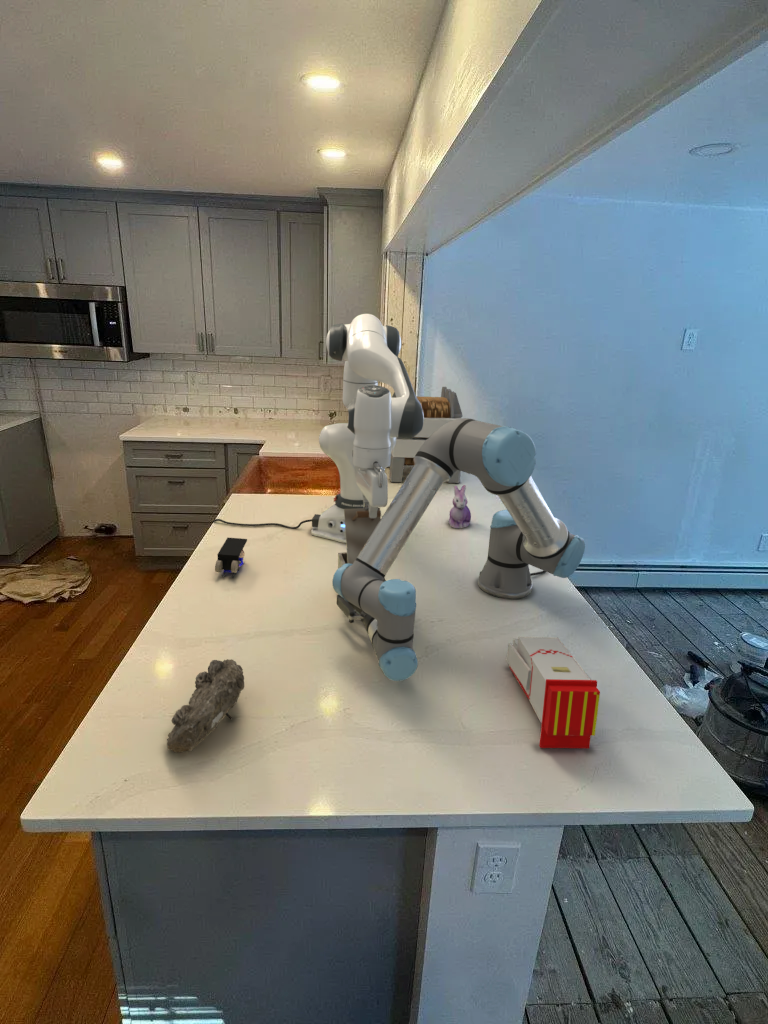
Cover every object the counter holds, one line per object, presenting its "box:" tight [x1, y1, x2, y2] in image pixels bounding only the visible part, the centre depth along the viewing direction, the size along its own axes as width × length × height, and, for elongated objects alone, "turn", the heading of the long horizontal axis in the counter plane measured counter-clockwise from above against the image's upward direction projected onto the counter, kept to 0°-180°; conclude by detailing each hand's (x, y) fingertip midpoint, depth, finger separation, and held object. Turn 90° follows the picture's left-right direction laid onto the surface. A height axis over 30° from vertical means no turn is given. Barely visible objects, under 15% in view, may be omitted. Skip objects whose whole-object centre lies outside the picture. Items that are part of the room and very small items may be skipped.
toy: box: [505, 636, 601, 749], centre depth 115 cm, size 12×13×30 cm
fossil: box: [166, 658, 245, 754], centre depth 106 cm, size 22×10×15 cm
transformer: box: [388, 386, 463, 484], centre depth 268 cm, size 34×33×41 cm
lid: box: [344, 507, 382, 564], centre depth 141 cm, size 18×9×9 cm
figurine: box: [448, 484, 472, 529], centre depth 208 cm, size 9×10×15 cm
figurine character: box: [214, 537, 248, 578], centre depth 166 cm, size 7×8×15 cm
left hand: (369, 513), depth 137 cm, fingers open, 4 cm apart
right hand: (363, 583), depth 148 cm, fingers closed on chest, 9 cm apart
